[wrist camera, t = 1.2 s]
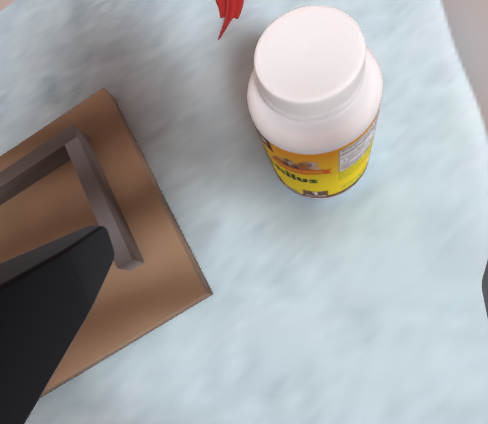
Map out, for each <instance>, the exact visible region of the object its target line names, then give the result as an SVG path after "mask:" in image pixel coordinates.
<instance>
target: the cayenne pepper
mask: <svg viewBox="0 0 488 424" xmlns="http://www.w3.org/2000/svg"><path fill="white" fill-rule="evenodd" d="M243 1H244V0H216V2H217V5H218V8H219V12H220V18H223V17H225V20H224V24H223V27H222V30H221V32H220V35H219V38H218V40H219V39H220V37H221V36H222V34H223V32H224V31H225V29H226V28H227V26H228V24H229V23H230V21H231V20H232V19H233V18H235V19H238V18H239V16H240V13H241V10H242V7H243Z"/></svg>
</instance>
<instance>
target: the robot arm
mask: <svg viewBox="0 0 488 424" xmlns="http://www.w3.org/2000/svg"><path fill="white" fill-rule="evenodd" d="M114 257H115V251H114V248H113V245H112V242H111V239H110V236H109V233H108V230H107V228H106V227H104V226H100V225H89V226H86V227H84V228H81V229H79V230H77V231H74V232H72V233H70V234H67V235H65V236H63V237H60V238H58V239H56V240H53V241H51V242H49V243H46V244H44V245H42V246H39V247H37V248H35V249H32V250H30V251H28V252H25V253H23V254H21V255H18V256H16V257H14V258H11V259H9V260H7V261H4V262H2V263H0V424H25V422H26V420H27V418H28V417H29V415H30V413H31V412H32V410H33V408H34V406H35V405H36V403H37V401H38V400H39V398H40V396H41V394H42V393H43V391H44V389H45V388H46V386H47V384H48V382H49V381H50V379H51V377H52V376H53V374H54V372H55V370H56V369H57V367H58V365H59V364H60V362H61V360H62V359H63V357H64V355H65V353H66V352H67V350H68V348H69V347H70V345H71V343H72V341H73V340H74V338H75V336H76V335H77V333H78V331H79V329H80V328H81V326H82V324H83V323H84V321H85V319H86V317H87V316H88V314H89V312H90V310H91V308H92V306H93V304H94V302H95V300H96V298H97V296H98V294H99V292H100V289H101V287H102V285H103V283H104V281H105V278H106V276H107V274H108V272H109V270H110V267H111V265H112V263H113V261H114ZM482 292H483V297H484V302H485V307H486V312H487V317H488V261H487V265H486V268H485V272H484V275H483V279H482Z"/></svg>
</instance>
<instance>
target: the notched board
mask: <svg viewBox="0 0 488 424" xmlns="http://www.w3.org/2000/svg"><path fill="white" fill-rule="evenodd" d="M89 225H100V226H104V227H106V228H107V230H108V233H109V236H110V239H111V242H112V245H113V248H114V251H115V257H114V261H113V263H112V265H111V267H110V270H109V272H108V274H107V276H106V278H105V281H104V283H103V285H102V287H101V289H100V292H99V294H98V296H97V298H96V300H95V302H94V304H93V306H92V308H91V310H90V312H89V314H88V316H87V317H86V319H85V321H84V323H83V324H82V326H81V328H80V329H79V331H78V333H77V335H76V336H75V338H74V340H73V341H72V343H71V345H70V347H69V348H68V350H67V352H66V353H65V355H64V357H63V359H62V360H61V362H60V364H59V365H58V367H57V369H56V370H55V372H54V374H53V376H52V377H51V379H50V381H49V382H48V384H47V386H46V388H45V389H44V391H43V393H42V394H41V396H40V398H41V397H43V396H44V395H46V394H48V393H49V392H51V391H53V390H54V389H56V388H58V387H59V386H61V385H63V384H64V383H66V382H68V381H69V380H71V379H73V378H74V377H76V376H78V375H79V374H81V373H83V372H84V371H86V370H88V369H89V368H91V367H93V366H94V365H96V364H98V363H99V362H101V361H103V360H104V359H106V358H108V357H109V356H111V355H113V354H114V353H116V352H118V351H119V350H121V349H123V348H124V347H126V346H128V345H129V344H131V343H133V342H134V341H136V340H138V339H139V338H141V337H143V336H144V335H146V334H148V333H149V332H151V331H153V330H154V329H156V328H158V327H159V326H161V325H163V324H164V323H166V322H168V321H169V320H171V319H173V318H174V317H176V316H178V315H179V314H181V313H183V312H184V311H186V310H188V309H189V308H191V307H193V306H194V305H196V304H198V303H199V302H201V301H203V300H204V299H206V298H208V297H209V296H211V295H213V293H212V291H211V289H210V287H209V285H208V283H207V281H206V279H205V277H204V275H203V273H202V271H201V269H200V267H199V265H198V263H197V261H196V259H195V257H194V255H193V253H192V251H191V250H190V248H189V246H188V244H187V242H186V240H185V238H184V236H183V234H182V232H181V230H180V228H179V226H178V224H177V222H176V220H175V218H174V216H173V214H172V212H171V210H170V208H169V206H168V204H167V202H166V200H165V198H164V196H163V194H162V192H161V190H160V188H159V186H158V184H157V182H156V180H155V178H154V176H153V174H152V172H151V170H150V168H149V166H148V164H147V163H146V161H145V159H144V157H143V155H142V153H141V151H140V149H139V147H138V145H137V143H136V141H135V139H134V137H133V135H132V133H131V131H130V129H129V127H128V125H127V123H126V121H125V119H124V117H123V115H122V113H121V111H120V109H119V107H118V105H117V103H116V101H115V99H114V97H113V96H112V95H111V94H110V93H109V92H108V91H107V90H105V89H104V88H103V89H101V90H100V91H98V92H97V93H95V94H94V95H92V96H91V97H89V98H88V99H86V100H85V101H83V102H82V103H80V104H79V105H77V106H76V107H74V108H73V109H71V110H70V111H68V112H67V113H65V114H64V115H62V116H61V117H59V118H58V119H56V120H55V121H53V122H52V123H50V124H49V125H47V126H46V127H44V128H43V129H41V130H40V131H38V132H37V133H35V134H34V135H32V136H31V137H29V138H28V139H26V140H25V141H23V142H22V143H20V144H19V145H17V146H16V147H14V148H12V149H11V150H9V151H8V152H6V153H5V154H3V155H2V156H0V263H2V262H4V261H7V260H9V259H11V258H14V257H16V256H18V255H21V254H23V253H25V252H28V251H30V250H32V249H35V248H37V247H39V246H42V245H44V244H46V243H49V242H51V241H53V240H56V239H58V238H60V237H63V236H65V235H67V234H70V233H72V232H74V231H77V230H79V229H81V228H84V227H86V226H89Z"/></svg>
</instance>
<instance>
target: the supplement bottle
mask: <svg viewBox="0 0 488 424" xmlns="http://www.w3.org/2000/svg"><path fill="white" fill-rule="evenodd" d="M382 93H383V78H382V73H381V69H380V66H379V64H378V61H377V59H376V57H375V56H374V54H373V53H372V52H371V50H370V49H369V48H368V47H367V46H366V44H365V39H364V35H363V33H362V31H361V29H360V27H359V26H358V24H357V23H356V22H355V21H354V20H353V19H352V18H351V17H350V16H349V15H347V14H346V13H344V12H342V11H340V10H338V9H335V8H333V7H328V6H319V5H314V6H304V7H300V8H297V9H294V10H291V11H289V12H287V13H285V14H283V15H281V16H280V17H278V18H277V19H276V20H274V21H273V22H272V23H271V24H270V25H269V26H268V27H267V28H266V30H265V31H264V32H263V34H262V35H261V37H260V39H259V41H258V43H257V46H256V49H255V53H254V69H253V71H252V73H251V76H250V79H249V83H248V89H247V102H248V108H249V112H250V115H251V118H252V120H253V123H254V125H255V127H256V129H257V132H258V134H259V136H260V138H261V140H262V142H263V145H264V147H265V149H266V152H267V154H268V156H269V158H270V160H271V163H272V165H273V167H274V169H275V171H276V173H277V175H278V177H279V178H280V180H281V181H282V182H283V184H284V185H285V186H286V187H287V188H289V189H290V190H291V191H293V192H295V193H296V194H298V195H301V196H303V197H307V198H312V199H327V198H332V197H335V196H338V195H340V194H342V193H344V192H346V191H348V190H349V189H350V188H352V187H353V186H354V185H355V184H356V183H357V182H358V181H359V179H360V178H361V177H362V175H363V173H364V171H365V169H366V167H367V164H368V161H369V156H370V151H371V147H372V142H373V138H374V133H375V128H376V124H377V119H378V114H379V109H380V105H381V100H382Z"/></svg>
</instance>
